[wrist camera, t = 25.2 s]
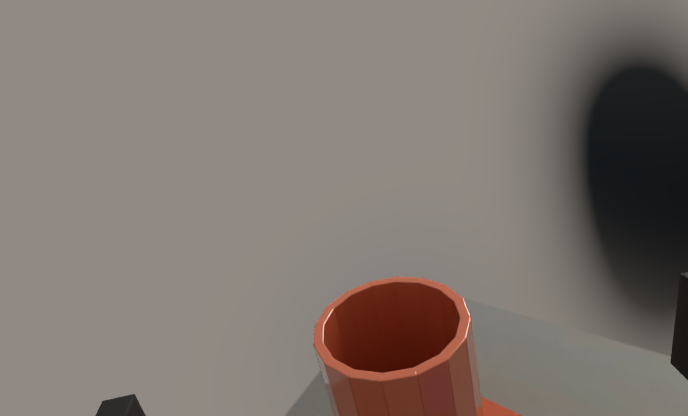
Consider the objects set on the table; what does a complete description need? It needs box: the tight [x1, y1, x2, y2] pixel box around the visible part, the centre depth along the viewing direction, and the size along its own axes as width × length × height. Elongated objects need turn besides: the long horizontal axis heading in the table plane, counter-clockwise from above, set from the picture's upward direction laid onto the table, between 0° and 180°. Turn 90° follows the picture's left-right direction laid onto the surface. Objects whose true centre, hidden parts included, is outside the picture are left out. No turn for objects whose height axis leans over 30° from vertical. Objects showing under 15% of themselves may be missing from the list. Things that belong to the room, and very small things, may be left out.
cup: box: [313, 277, 483, 416], centre depth 25 cm, size 7×7×10 cm
